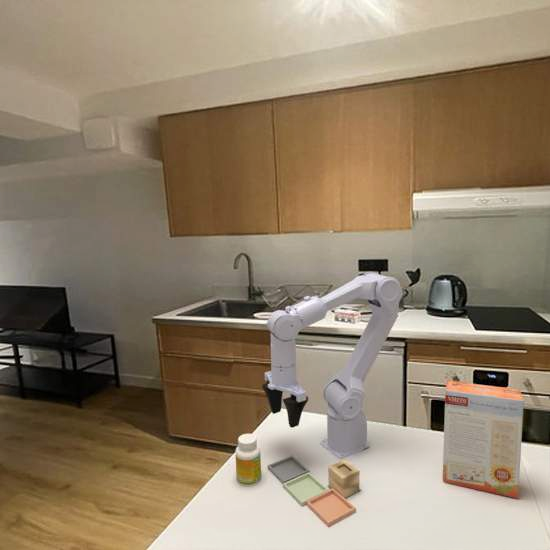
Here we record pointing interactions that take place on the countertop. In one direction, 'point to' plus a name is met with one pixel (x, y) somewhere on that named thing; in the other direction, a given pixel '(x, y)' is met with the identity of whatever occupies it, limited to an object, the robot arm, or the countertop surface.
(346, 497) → the slate mat
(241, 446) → the supplement bottle
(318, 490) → the sage dish
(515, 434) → the cracker box
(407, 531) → the countertop surface
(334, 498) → the terracotta dish
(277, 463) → the charcoal dish
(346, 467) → the letter cube
